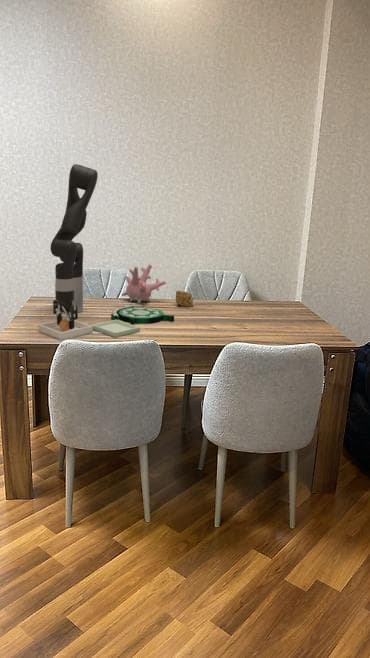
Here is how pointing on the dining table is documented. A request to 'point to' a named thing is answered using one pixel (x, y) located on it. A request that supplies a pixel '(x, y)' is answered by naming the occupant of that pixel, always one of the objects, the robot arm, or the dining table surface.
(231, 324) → the dining table surface
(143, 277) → the toy
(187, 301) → the rock
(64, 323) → the ball
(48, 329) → the cream square dish
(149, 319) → the emblem
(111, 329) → the tray
